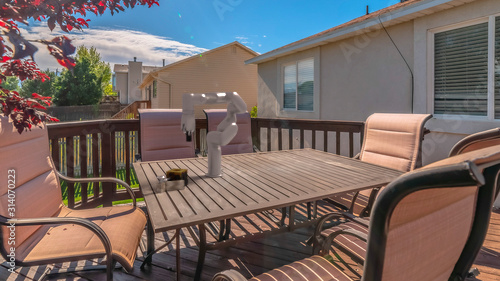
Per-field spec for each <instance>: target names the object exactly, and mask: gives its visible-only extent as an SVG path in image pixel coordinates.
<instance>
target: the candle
mask: <svg viewBox="0 0 500 281" xmlns="http://www.w3.org/2000/svg"><path fill="white" fill-rule="evenodd" d="M188 172H189V171H188V169H187V168H171V169H169V170H166V171H165V173H166V174H165V175H166V176H165V179H167V178H170V177H172V179H171V180H168V181H181V180H184V188H185V187H187V186H188V184H189V178H188V175H189V174H188ZM166 182H167V181H166Z"/></svg>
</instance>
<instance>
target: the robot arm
mask: <svg viewBox="0 0 500 281" xmlns="http://www.w3.org/2000/svg"><path fill="white" fill-rule="evenodd" d="M224 104H225V105H226V104H227V105H226V116H225V117H224V118H223V120H222V121H221V122H220V123H219V124H218V125H217V127H216V130H212V131H209V132H207V134H206V136H205V140H206V145H207V172H206V173H205V176H206V177H209V178H220V177H223V176H224V172H222V171H224V167H222V148H221V147H222V146H223V147H224V146H227V145H228V144H229V143H230V142H231V141H232V140H233V139H234V137H235V136H236V135H237V133H238V131H239V126H238V124H237V114H239V115H242V114H245V113H246V112H247V111H248V105H247V103H246V102H245V101H244V99H243V98H242V97H241V96H240V94H238V93H237V92H236V91H211V92H201V93H196V92H195V93H191V92H190V93H188V92H187V93H186V92H185V93H182V94H181V113H182V114H181V118H180V131H182V133H183V134H184V135H185V141H186V142H187V143H189V142H190V143H191V142H192V140H193V138H192V136H193V133H194V132H195V130H196V117H195V106H203V105H215V106H216V105H224Z"/></svg>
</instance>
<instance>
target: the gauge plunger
mask: <svg viewBox="0 0 500 281" xmlns="http://www.w3.org/2000/svg"><path fill="white" fill-rule="evenodd" d="M163 178H165V179H164V180H162V179H163ZM156 179H157V180H158V183H162V182H165V181H168V180H171V179H172V177H170V178H167V179H166V176H164V175H158V176H156Z"/></svg>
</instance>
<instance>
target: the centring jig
mask: <svg viewBox="0 0 500 281" xmlns="http://www.w3.org/2000/svg"><path fill="white" fill-rule="evenodd" d="M164 179H166V177H165V178H163V179H161V180H164ZM178 190H179V191H180V190H185V187H184V180H181V181H167V182H166V181H165V182H162V183H159V182H158V183H157V184H156V192H157V193H160V194H162V193H165V192H166V191H178Z"/></svg>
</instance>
